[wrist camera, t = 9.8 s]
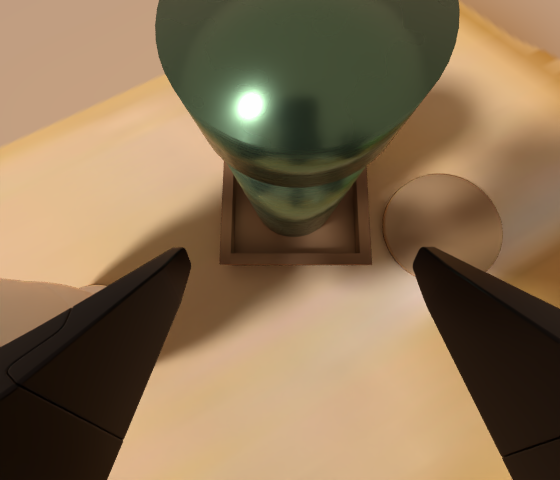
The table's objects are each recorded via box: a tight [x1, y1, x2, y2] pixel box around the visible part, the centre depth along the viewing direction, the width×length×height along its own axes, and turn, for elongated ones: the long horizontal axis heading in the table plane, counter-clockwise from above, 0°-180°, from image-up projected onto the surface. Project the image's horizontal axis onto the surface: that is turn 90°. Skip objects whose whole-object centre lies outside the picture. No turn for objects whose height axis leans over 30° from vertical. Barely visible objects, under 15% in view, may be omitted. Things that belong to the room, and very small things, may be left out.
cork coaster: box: [383, 174, 503, 277], centre depth 17 cm, size 9×9×1 cm
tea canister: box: [155, 0, 459, 237], centre depth 11 cm, size 7×7×12 cm
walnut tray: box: [220, 161, 372, 265], centre depth 17 cm, size 11×11×2 cm
